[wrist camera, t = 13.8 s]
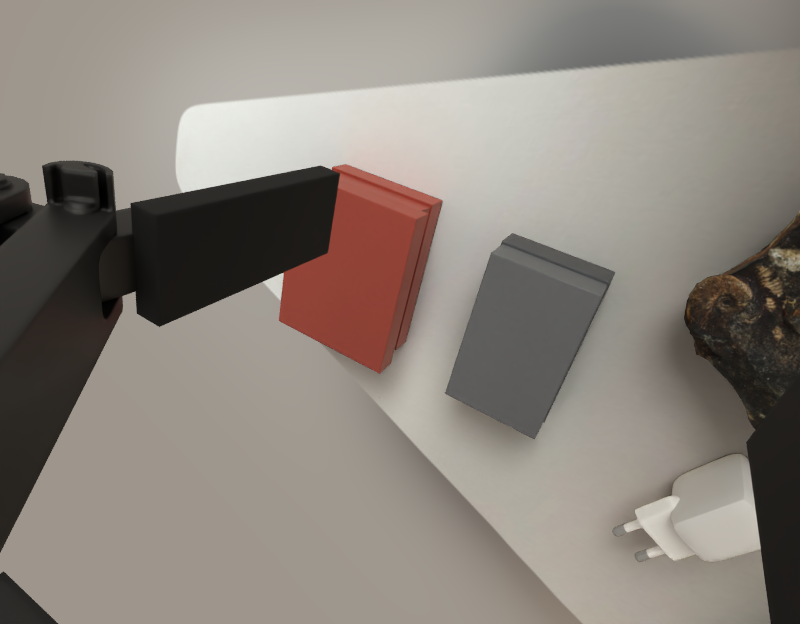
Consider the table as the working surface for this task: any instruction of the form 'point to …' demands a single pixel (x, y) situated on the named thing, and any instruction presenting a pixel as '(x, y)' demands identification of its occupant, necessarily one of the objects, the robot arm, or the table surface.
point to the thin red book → (357, 278)
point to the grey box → (525, 331)
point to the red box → (409, 199)
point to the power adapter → (702, 514)
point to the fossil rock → (753, 323)
